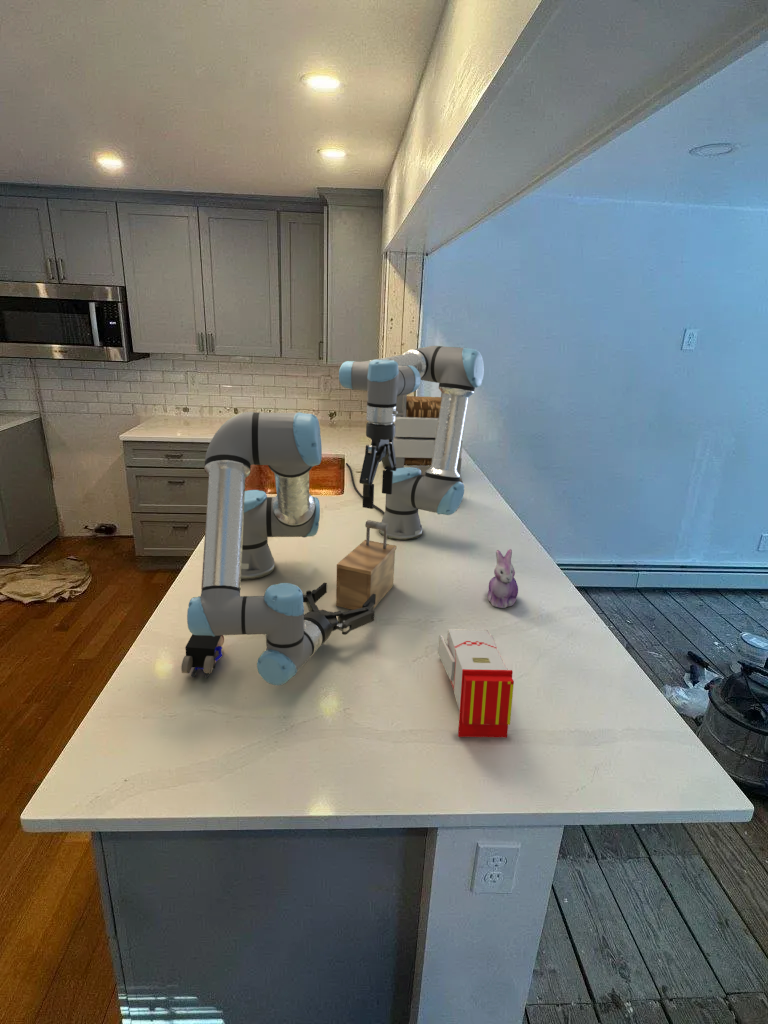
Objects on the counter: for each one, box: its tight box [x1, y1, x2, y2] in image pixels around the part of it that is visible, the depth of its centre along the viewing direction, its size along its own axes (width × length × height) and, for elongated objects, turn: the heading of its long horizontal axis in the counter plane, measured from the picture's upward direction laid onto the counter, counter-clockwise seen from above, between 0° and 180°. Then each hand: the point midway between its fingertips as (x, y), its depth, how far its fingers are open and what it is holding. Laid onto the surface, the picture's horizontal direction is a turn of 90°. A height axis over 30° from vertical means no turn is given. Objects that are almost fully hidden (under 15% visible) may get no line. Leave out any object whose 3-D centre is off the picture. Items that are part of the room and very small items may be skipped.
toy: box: [437, 628, 515, 738], centre depth 117 cm, size 12×13×30 cm
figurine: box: [487, 548, 519, 609], centre depth 154 cm, size 9×10×15 cm
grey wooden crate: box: [392, 391, 465, 476], centre depth 268 cm, size 34×33×41 cm
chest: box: [335, 550, 396, 610], centre depth 154 cm, size 18×10×11 cm, turn 159°
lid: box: [336, 519, 397, 575], centre depth 151 cm, size 18×10×8 cm, turn 159°
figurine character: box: [180, 633, 225, 679], centre depth 123 cm, size 7×8×15 cm
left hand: (349, 592), depth 144 cm, fingers open, 13 cm apart
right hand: (377, 500), depth 153 cm, fingers open, 13 cm apart
